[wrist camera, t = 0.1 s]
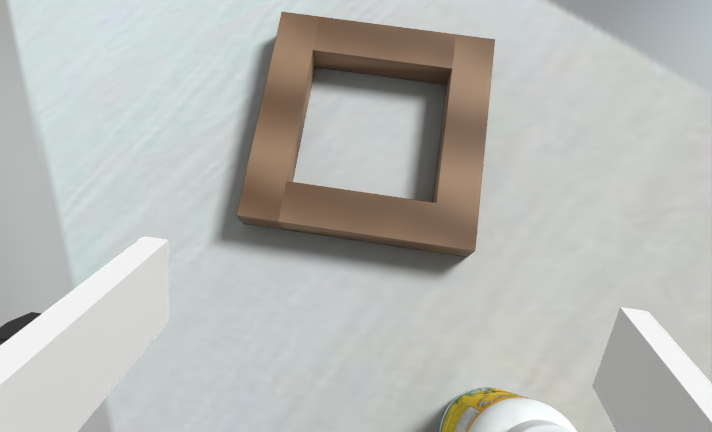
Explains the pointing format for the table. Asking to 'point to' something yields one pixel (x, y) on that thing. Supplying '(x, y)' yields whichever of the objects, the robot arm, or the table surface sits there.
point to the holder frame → (358, 209)
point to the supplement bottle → (501, 414)
